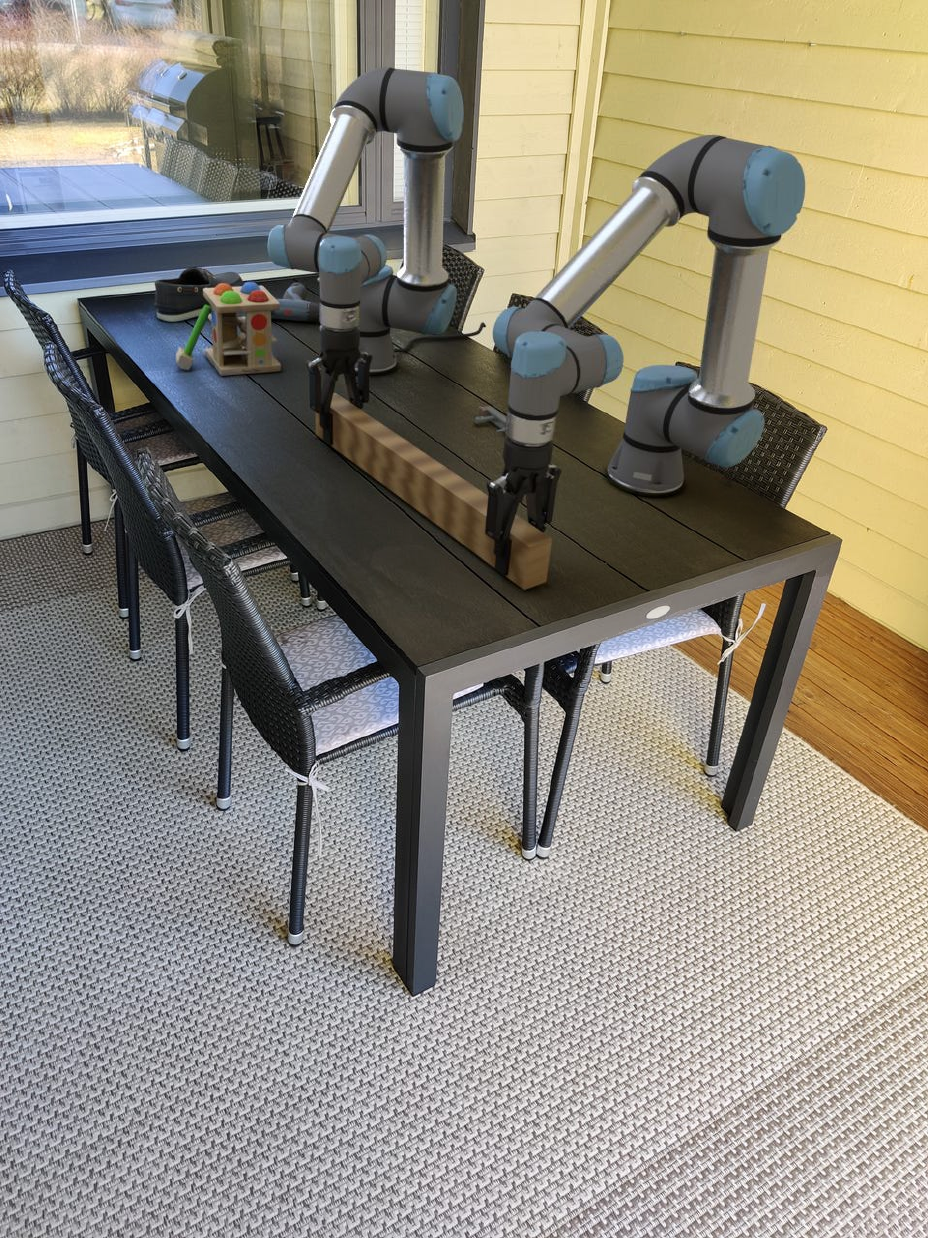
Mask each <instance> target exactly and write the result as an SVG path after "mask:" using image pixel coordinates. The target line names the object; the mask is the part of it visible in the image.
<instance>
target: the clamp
mask: <svg viewBox="0 0 928 1238" xmlns="http://www.w3.org/2000/svg"><path fill="white" fill-rule="evenodd" d="M506 418H507V416H505V415H503V414H502V413H501V412H500V411H498V410H497V409H496V408H494V407H492V406H491V405H488V406H479V407H478V410H477V416H475V417H474V422H475V423H476V424H477V425H479V424H484V423H486V422H491V423H492V424H494V426H496V427H498V428H499V429H496V430H495V433H496V434H497V433H505V427H506Z"/></svg>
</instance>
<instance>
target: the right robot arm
mask: <svg viewBox="0 0 928 1238" xmlns="http://www.w3.org/2000/svg"><path fill="white" fill-rule="evenodd" d="M631 187H632V188H631V192H632V193H630V195H629V196H627V198H626V199H625V200H624V201H623V202H622V203H621V204H620V206H619V207H618V208H617V209H616V210H615V211H614V212H613V213H612V214H611V215H610V216H609V217H608V218H607V219H606V221H605V222H604V223H603V224H602V225H601V226H600V227H599V228H598V229H597V230H596V231H595V232H594V233H593V235H591V236H590V237H589V238H588V240H587V241H586V242H585V243H584V244H583V246H581V247H580V248H579V249H578V251H576V253H575V254H574V255H573V256H572V257H571V258H570V259H569V260H568V261H567V262H566V263H565V265H563V267H562V268H561V269H559V271H558V272H557V273H556V274H555V275H554V276H553V277H552V278H551V280H549V282H548V283H547V284H546V285H545V286H544V287H543V288H542V289H541V290H540V291H539V292H538V293H537V294H536V295H535V297H534V298H533V299H532V300H531V301H530V302H529V303H528V304H527V306H525V308H524V307H520V306H519V307H518V306H510V307H507V308H505V309H504V310H502V311H501V312H500V313H499V314H498V316H496V319H495V321H494V323H493V327H492V340H493V343H494V346H495V347H496V348H497V349H498V350H499V351H500V352H502V353H503V354H505V355H506V356H507V357H510V358H511V361H510V368H511V369H510V378H509V392H508V403H507V411H506V424H505V425H506V427H505V432H504V433H505V436H504V439H503V449H502V459H503V462H504V463H503V464H504V467H503V470H502V472H501V474H500V477H498V478H497V479H496V480H492V479H489V480H488V481H487V482H486V484H485V485H486V489H487V493H488V494H487V495H488V505H487V515H486V526H485V534H486V535H487V536H489V537H490V538H492V539H493V540H494V541H495V542H494V555H496V558H495V568H494V567H493V568H494V570H495V571H497V572H498V573H500V574H501V575H502V576H504V577H506V575H508V572H509V563H510V554H511V546H512V540H511V539H509V535H510V531H511V528H512V525H513V522H514V519H515V515H517V512H518V509H519V505H520V504H521V503H523V500H524V497H525V501H526V502H525V503H526V513H527V515H526V516H527V522H528V523H529V524H531V525H532V526H533V527H535V528H536V529H538V530H539V531H541V532H542V533H545V532H546V530H547V526H545V525H550V524H551V523H552V521H553V516H554V510H555V501H556V495H557V487H558V482H559V479H560V476H561V474H562V468H560V467H558V466H556V465H555V464H553V463H552V457H553V451H554V450H553V449H554V440H553V439H554V438H555V433H556V425H557V419H558V413H559V405H560V399H561V397H563V396H567V395H571V394H574V393H579V392H583V391H586V390H587V391H588V390H592V389H595V388H596V389H599V388H601V387H602V386H604V385H608V384H610V383H612V382H614V381H615V380H617V379H618V378H619V376H620V375H621V373H622V370H623V367H624V361H625V360H624V359H625V358H624V352H623V349H622V347H621V344H620V343H619V342H618V340H617V339H616V338H615V337H614V336H612V335H610V334H605V333H603V334H598V333H596V334H592V335H591V336H586V335H584V334H581V333H579V332H576V331H574V330H572V327H573V326H574V325H575V324H576V323H577V321H578V320H579V319H581V317H582V316H583V315H584V314H586V312H587V311H588V310H589V309H590V308H591V307H592V305H593V304H594V303H595V302H596V301H598V299H599V298H600V297H601V296H602V295H603V294H604V293H605V291H607V289H608V288H610V286H611V285H612V284H613V283H614V282H615V281H616V280H617V279H618V277H620V276H621V274H622V273H623V272H624V271H625V270H626V269H627V268H628V267H629V266H630V265H631V264H632V263H633V262H634V260H635V259H636V258H637V257H638V256H639V255H640V254H641V253H642V252H643V251H644V250H645V249H646V248H647V246H649V244H651V242H652V241H653V240H654V239H655V238H656V237H657V236H658V235H659V234H660V232H661V231H663V229H664V228H671V227H674V226H676V224H677V223H678V222H679V221H680V220H681V219H682V218H683V217H684V216H687V215H689V214H695V213H696V214H699V215H701V216H704V217H707V218H708V222H707V223H708V224H707V232H706V236H707V239H708V240H709V241H710V242H711V244H712V245H713V246H714V254H713V260H712V270H711V277H710V278H711V279H710V284H709V292H708V302H707V309H706V316H705V326H704V334H703V340H702V349H701V358H700V365H699V366H700V367H699V374H698V373H697V372H696V370H694V369H692V368H689V367H685V366H681V365H673V364H655V365H647V366H644V367H642V368H639V370H638V371H636V372H635V375H634V377H633V382H632V386H631V388H630V394H629V401H628V404H627V411H626V417H625V423H624V429H623V433H622V438H621V441H620V442H619V445H618V446H617V448H616V449H615V452H614V454H613V455H612V457H611V459H610V460H609V463H608V465H607V468H606V469H607V470H606V478H607V480H608V481H609V482H610V483H611V485H613V486H615V487H616V488H617V489H620V490H621V491H624V492H626V493H629V494H632V495H636V496H643V497H649V498H650V497H651V498H662V497H668V496H673V495H675V494H677V493H678V492H680V491H681V490H682V488H683V484H684V480H685V473H684V465H683V456H682V450H684V451H686V452H688V453H691V454H692V455H694V456H697V457H699V458H701V459H703V460H705V462H706V463H707V464H712V465H716V466H718V467H720V468H725V469H726V468H727V469H728V468H732V467H734V466H736V465H738V464H739V463H741V462H743V460H745V459H746V458H747V457H748V456H749V454H751V452H752V451H753V450H754V448H755V447H756V445H757V444H758V442H759V440H760V439H761V436H762V434H763V431H764V428H765V417H764V415H763V413H762V412H761V411H760V410H758V409H756V408H754V403H755V398H756V391H755V388H754V387H753V386H752V385H751V384H750V383H749V379H750V373H751V367H752V361H753V354H754V349H755V342H756V337H757V330H758V323H759V317H760V311H761V306H762V305H761V304H762V299H763V292H764V285H765V281H766V275H767V274H766V273H767V267H768V261H769V256H770V255H769V254H770V250H771V249H773V248H774V247H775V246H776V245H777V244H779V243H780V241H781V240H782V236H783V234H785V233H787V232H789V230H790V229H791V228H792V227H793V226H794V225H795V223H796V222H797V220H798V216H797V215H798V214H800V213H801V211H802V208H803V205H804V201H805V195H806V177H805V171H804V168H803V166H802V165H801V163H800V162H799V160H798V159H797V157H796V156H795V155H793V154H792V153H790V152H788V151H783V150H781V149H778V148H777V147H776V146H771V145H766V144H765V145H764V144H759V143H755V142H749V141H744V140H739V139H735V138H731V137H727V136H723V135H718V134H705V135H700V136H697V137H693V138H691V139H688V140H686V141H683V142H682V143H680V144H678V145H676V146H674V147H673V148H671V149H669V150H668V151H666V152H665V153H664V154H663V155H660V156H659V157H658V158H657V159H656V160H654V161H653V162H652V163H651V164H650V165H648V167H647V168H646V169H645V170H643V172H642V173H641V174H640V175H639V176H638V177H637V178H636V179H635V180H634V182H633V184H632V186H631Z"/></svg>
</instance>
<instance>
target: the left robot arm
mask: <svg viewBox="0 0 928 1238" xmlns="http://www.w3.org/2000/svg"><path fill="white" fill-rule="evenodd" d="M464 119H465V118H464V100H463V95H462V91H461V87H460V86H459V84H458V82H457V80H455V79H454V77H452V76H450V75H444V74H440V73H437V72H433V71H421V70H412V69H403V68H395V67H391V66H383V67H376V68H373V69H370V70H368V71H366V72H364V73H363V74H361V75H360V76H358V77H357V78H355V79H354V80H353V81H352V82H351V83H349V85H348V86H347V87H346V88H345V90H343V91H342V92H341V94H340V95H339V97H338V99H337V100H336V101H335V104H334V106H333V108H332V111H331V113H330V116H329V121H330V125H331V126H330V129H329V131H328V133H327V135H326V137H325V140H324V142H323V144H322V147H321V149H320V152H319V154H318V156H317V159H316V161H315V163H314V166H313V168H312V169H311V173H310V175H309V178H308V180H307V182H306V184H305V186H304V189H303V191H302V194H301V196H300V198H299V201H298V203H297V205H296V208H295V210H294V213H293V215H292V217H291V219H290V221H289V223H288V225H286V224H283V225H282V224H281V225H280V224H277V225H275V226H274V227H273V228H271V230H270V232H269V235H268V239H267V253H268V256H269V258H270V261H271V262H272V263H273V264H274V265H276V266H279V267H282V268H286V269H289V270H293V271H294V270H297V271H304V272H307V273H308V272H310V273H315V274H318V276H319V277H318V278H319V281H320V282H319V304H320V321H319V324H320V326H319V345H320V352H319V355H318V358H316V359H315V360H313V361H312V360H307V361H306V363H305V365H306V368H307V371H308V375H309V376H308V379H309V380H308V381H309V382H308V384H309V385H308V386H309V408H310V409H311V410H312V411H314V412H315V414H316V413H319V425H320V427H321V428H323V439H322V441H323V442H324V443H326V444H327V445H329V446H331V445H333V414H332V413H331V412H329V411H330V407H331V402H332V397H333V393H335V387H336V383H337V381H338V380H339V376H341V375H343V378H344V382H345V386H346V391H347V396H348V399H349V402H350V403H351V404H353V405H354V406H356V407H357V408H359V409H360V410H362V409H363V408H364V404H368V403H369V402H370V376H380V375H381V376H382V375H386V374H389V373H391V372H393V371H395V369H396V368H397V361H398V360H397V354H396V353H398V354H400V353H401V354H402V353H405V352H407V351H408V350H409V349H410V347H411V346H412V345H413V344H414V343H417V342H421V341H428V340H429V341H430V340H431V341H432V340H450V339H462V338H472V337H475V336H478V335H480V334H481V333H482V331H483V329H484V328H487V325H486V324H485V322H483V321H482V322H480V324H479V327H478V330H476V331H472V332H469V333H458V334H445V335H443V334H444V332H446V330H447V328H448V327H449V325H450V323H451V320H452V317H453V315H454V311H455V307H456V302H457V288H456V286H455V285H453V284H451V283H449V273H448V272H447V270H446V269H445V268H444V267H443V241H444V240H443V238H444V235H443V234H444V210H445V209H444V207H445V205H444V204H445V174H446V173H445V171H446V168H445V166H446V156H447V155H448V153H449V152H451V151H452V150H453V147H454V142H456V141H458V140H459V139H460V138H461V134H462V131H463V123H464ZM380 132H386V133H391V134H396V147H397V148H398V149H399V150H400V151H401V153H402V154H403V266H402V267H401V268H399V269H398V270H397V272H396V274H394V273H395V272H394V269H393V267H392V266H391V265H388V264H387V261H388V252H387V248H386V246H385V245H384V243H383V241H382V240H381V239H379V238H378V237H377V236H375V235H373V234H362V235H361V234H360V235H358V236H356V237H352V236H347V235H341V234H336V233H335V234H334V233H330V231H331V229H332V226H333V223H334V221H335V219H336V216H337V214H338V211H339V209H340V207H341V205H342V202H343V200H344V197H345V195H346V193H347V190H348V188H349V186H350V183H351V181H352V179H353V176H354V174H355V171H356V169H357V166H358V164H359V162H360V159H361V158H362V155H363V152H364V150H365V148H366V145H369V144H371V143H372V142H373V141H374V139H375V137H376V135H377V134H378V133H380ZM391 329H397V330H401V331H406V332H412V333H417V334H422V335H423V336H418V337H415V338H412V339H409V341H408V342H407V343H406V345H405V346H404V347H402V348H395V347H394V343H393V341H392V337H391V336H392V335H391ZM424 335H425V336H424ZM426 335H427V336H426ZM322 366H323V367H324V369H322ZM322 370H323V381H322V373H321V372H322ZM356 377H357V378H356Z"/></svg>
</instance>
